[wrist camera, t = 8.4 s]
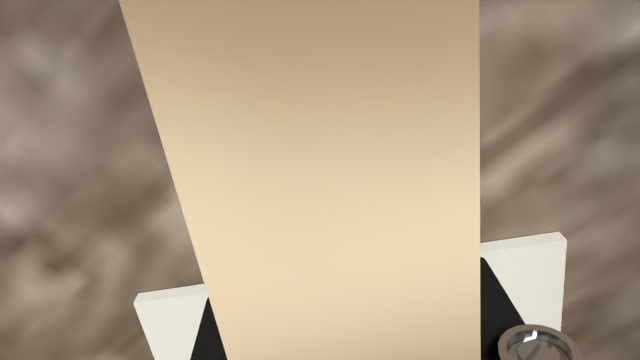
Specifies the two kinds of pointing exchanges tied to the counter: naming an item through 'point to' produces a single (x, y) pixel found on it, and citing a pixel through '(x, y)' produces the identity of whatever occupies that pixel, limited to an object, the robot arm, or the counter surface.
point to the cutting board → (502, 256)
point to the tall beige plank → (324, 169)
